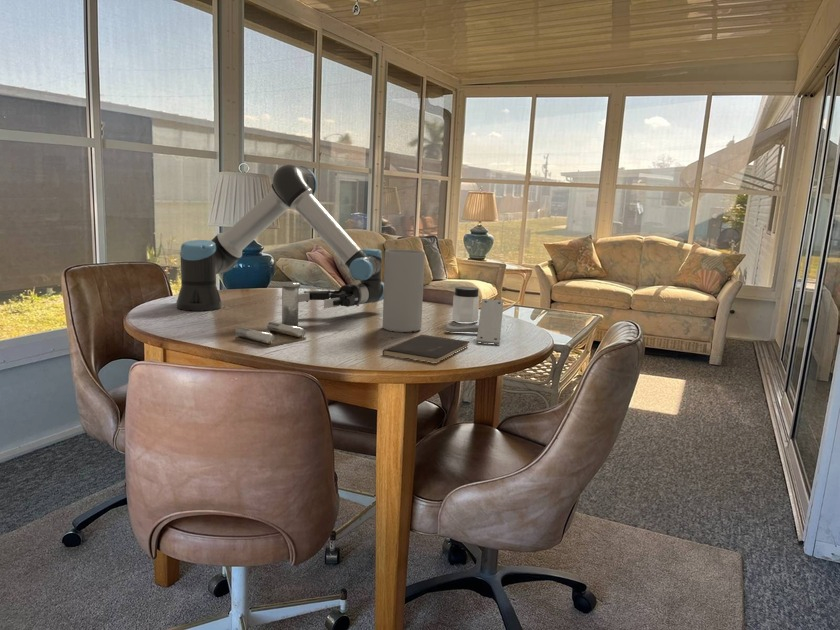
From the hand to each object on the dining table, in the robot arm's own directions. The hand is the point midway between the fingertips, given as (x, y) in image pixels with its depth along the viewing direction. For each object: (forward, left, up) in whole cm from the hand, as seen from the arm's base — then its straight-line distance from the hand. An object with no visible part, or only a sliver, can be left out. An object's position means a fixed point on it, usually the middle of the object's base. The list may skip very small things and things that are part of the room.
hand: (309, 301), depth 204 cm
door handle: (+49, +22, -8) cm, 54 cm away
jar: (+34, +42, -8) cm, 54 cm away
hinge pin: (0, -8, -7) cm, 11 cm away
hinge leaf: (+9, -24, -7) cm, 27 cm away
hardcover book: (+49, -3, -8) cm, 50 cm away
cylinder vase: (+26, +16, -8) cm, 31 cm away
